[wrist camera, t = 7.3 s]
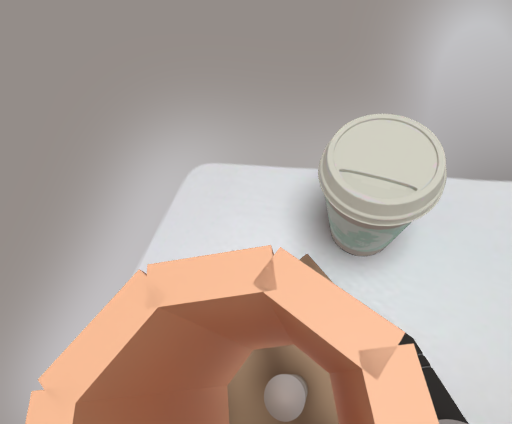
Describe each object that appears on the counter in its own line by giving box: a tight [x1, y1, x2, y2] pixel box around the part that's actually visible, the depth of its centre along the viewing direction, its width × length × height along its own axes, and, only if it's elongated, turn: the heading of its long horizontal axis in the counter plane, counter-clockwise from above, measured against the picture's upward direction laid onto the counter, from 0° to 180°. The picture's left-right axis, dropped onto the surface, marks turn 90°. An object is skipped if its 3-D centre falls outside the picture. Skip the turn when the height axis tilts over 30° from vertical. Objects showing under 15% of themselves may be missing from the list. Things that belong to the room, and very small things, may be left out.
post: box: [227, 254, 339, 424], centre depth 21 cm, size 16×16×12 cm
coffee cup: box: [318, 114, 447, 256], centre depth 26 cm, size 8×9×12 cm
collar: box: [25, 245, 439, 424], centre depth 9 cm, size 6×6×10 cm
